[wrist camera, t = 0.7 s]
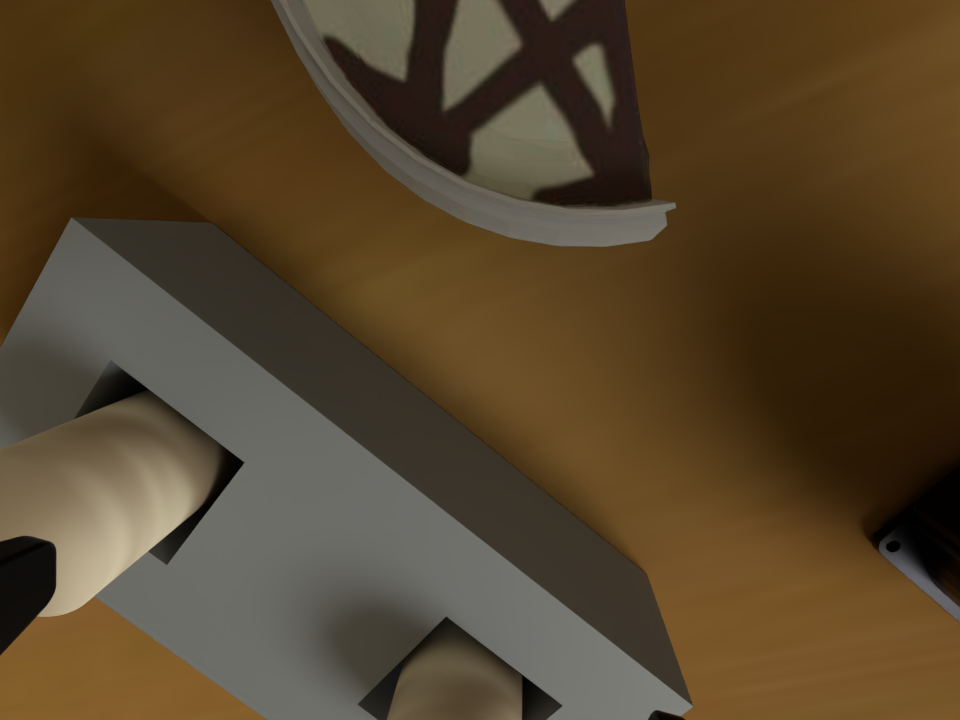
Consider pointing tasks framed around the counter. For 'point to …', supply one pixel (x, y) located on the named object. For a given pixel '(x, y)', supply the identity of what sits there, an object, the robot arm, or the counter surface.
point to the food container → (492, 109)
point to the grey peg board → (322, 495)
